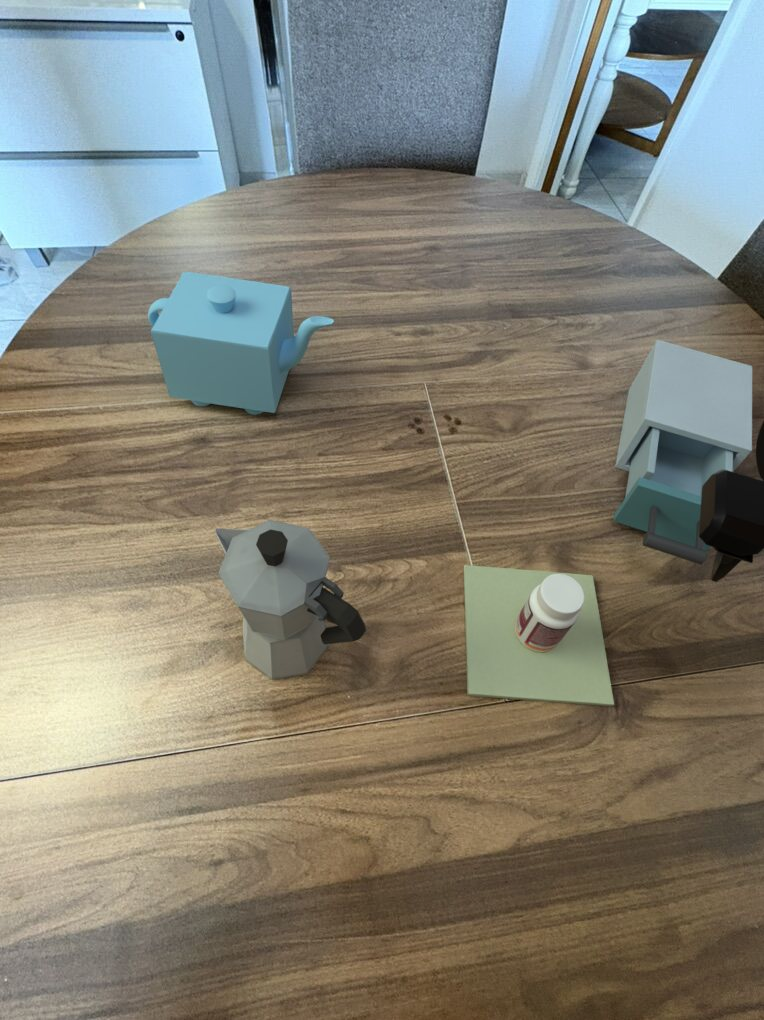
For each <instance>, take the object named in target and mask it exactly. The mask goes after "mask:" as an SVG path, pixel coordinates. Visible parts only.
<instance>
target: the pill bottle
mask: <svg viewBox="0 0 764 1020" xmlns="http://www.w3.org/2000/svg"><path fill="white" fill-rule="evenodd" d="M584 600H585V595H584V591H583V589H582V587H581V585H580V584H579V583H578V582H577V581H576V580H575V579H573V578H572V577H570V576H567V575H564V574H553V575H550V576H548V577H547V578H545V579H544V580H543V582H542V584H540V585H538V586H537V587H535V588H534V589H533V591H532V592H531V594H530V596H529V598H528V599H527V601H526V603H525V605H524V606H523V608H522V610H521V612H520V613H519V615H518V617H517V619H516V622H515V632H516V635H517V637H518V639H519V640H520V642H521V643H522V644H523V645H524V646H525V647H527V648H529V649H531V650H533V651H537V652H546V651H550V650H552V649H554V648H555V647H556V646H557V645H558V644H559V642H560V641H561V640H562V639H563V637H564V636H565V635H566V633H567V632H568V631H569V630H570V628H571V627H572V626H573V624H574V623H575V622H576V621H577V619H578V617H579V614H580V609H581V607H582V606H583V603H584Z"/></svg>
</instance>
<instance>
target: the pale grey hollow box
mask: <svg viewBox="0 0 764 1020" xmlns="http://www.w3.org/2000/svg"><path fill="white" fill-rule="evenodd" d="M626 397H627V398H626V403H625V408H624V414H623V419H622V426H621V432H620V438H619V444H618V448H617V454H616V460H615V465H614V467H615V468H616V469H619V470H622V471H625V472H628V473H629V471H630V464H631V458H632V453H633V451H634V450H635V448H636V447H637V445H638V444H639V442H640V440H641V439H642V437H643V436H644V434H645V432H646V431H647V429H648V428H649V426H651V427H655V428H658V429H661V430H665V431H668V432H671V433H675V434H678V435H681V436H685V437H688V438H691V439H695V440H698V441H701V442H705V443H708V444H711V445H715V446H718V447H721V448H724V449H728V450H731V451H733V472H735V471H736V470H737V469H738V467H740V465H742V463H743V462H744V460H746V458H747V457H748V456H749V455H750V453H752V451H753V366H752V365H750V364H747V363H744V362H743V363H742V362H739V361H735V360H732V359H728V358H724V357H722V356H717V355H714V354H710V353H707V352H703V351H700V350H696V349H693V348H689V347H685V346H682V345H678V344H675V343H672V342H668V341H664V340H661V339H656V340H655V342H654V343H653V346H652V347H651V349H650V351H649V353H648V355H647V356H646V359H644V362H643V364H642V366H641V367H640V369H639V371H638V373H637V374H636V376H635V378H634V380H633V381H632V383H631V384H630V386H629V389H628V392H627V396H626Z"/></svg>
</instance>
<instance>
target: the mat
mask: <svg viewBox="0 0 764 1020" xmlns="http://www.w3.org/2000/svg"><path fill="white" fill-rule="evenodd" d="M553 574H564V575H567V576H570V577H572V578H573V579H575V580H576V581H577V582H578V583H579V584H580V585H581V587H582V589H583V591H584V595H585V600H584V603H583V606H582V607H581V609H580V614H579V617H578V619H577V621H576V622H575V623H574V624H573V626H572V627H571V628H570V630H569V631H568V632H567V633H566V635H565V636H564V637H563V639H562V640H561V641H560V642H559V644H558V645H557V646H556V647H555V648H554V649H552V650H550V651H546V652H537V651H533V650H531V649H529V648H527V647H525V646H524V645H523V644H522V643H521V642H520V640H519V639H518V637H517V635H516V632H515V622H516V619H517V617H518V615H519V613H520V612H521V610H522V608H523V606H524V605H525V603H526V601H527V599H528V598H529V596H530V594H531V592H532V591H533V589H534V588H535V587H537V586H538V585H540V584H542V582H543V580H544V579H545V578H547V577H548V576H550V575H553ZM463 593H464V595H463V596H464V629H465V630H464V631H465V632H464V633H465V634H464V635H465V659H466V660H465V663H466V665H465V666H466V695H467V696H468V697H482V698H496V699H506V700H507V699H508V700H521V701H532V702H533V701H534V702H548V703H549V702H550V703H561V704H562V703H563V704H575V705H589V706H600V707H601V706H602V707H605V706H606V707H614V706H615V701H614V700H615V699H614V695H613V688H612V682H611V677H610V676H611V675H610V671H609V670H610V669H609V665H608V664H609V663H608V659H607V653H606V647H605V641H604V635H603V629H602V623H601V616H600V611H599V604H598V598H597V593H596V586H595V580H594V576H593V574H582V573H569V572H559V571H557V572H556V571H545V570H534V569H533V570H532V569H519V568H510V567H509V568H508V567H496V566H495V567H494V566H484V565H483V566H481V565H473V564H472V565H471V564H464V565H463Z"/></svg>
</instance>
